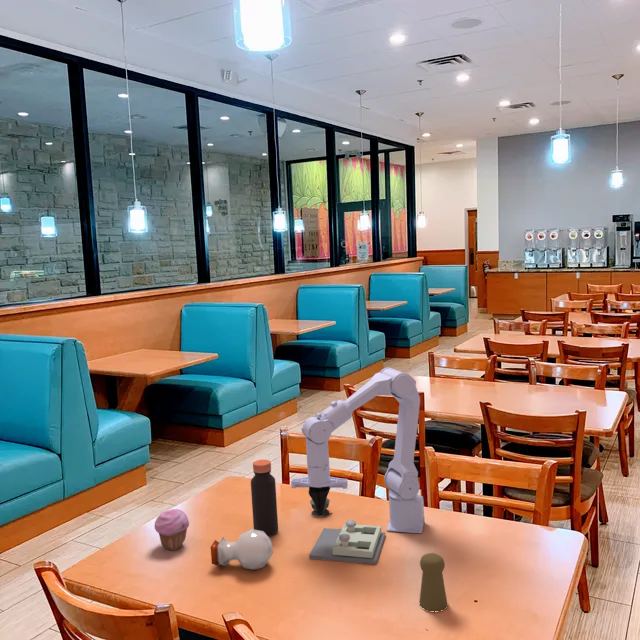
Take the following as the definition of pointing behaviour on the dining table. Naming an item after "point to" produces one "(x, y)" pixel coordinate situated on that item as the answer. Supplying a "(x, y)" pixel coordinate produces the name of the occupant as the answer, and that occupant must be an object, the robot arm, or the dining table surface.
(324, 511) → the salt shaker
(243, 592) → the dining table surface
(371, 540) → the panel
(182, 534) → the cupcake
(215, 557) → the potion bottle
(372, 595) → the dining table surface
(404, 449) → the robot arm
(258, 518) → the vinegar
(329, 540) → the boss board
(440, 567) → the olive pawn
